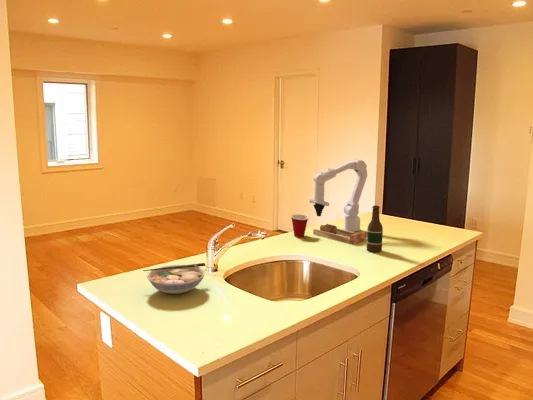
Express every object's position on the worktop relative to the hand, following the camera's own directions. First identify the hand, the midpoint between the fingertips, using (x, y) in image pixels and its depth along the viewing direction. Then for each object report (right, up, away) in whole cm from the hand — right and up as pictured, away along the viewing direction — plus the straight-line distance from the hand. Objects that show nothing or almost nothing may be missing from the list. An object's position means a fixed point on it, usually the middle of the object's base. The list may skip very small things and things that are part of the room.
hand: (318, 216), depth 278 cm
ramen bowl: (-68, -27, -96) cm, 120 cm away
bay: (+10, -12, -10) cm, 19 cm away
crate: (+5, -11, -4) cm, 13 cm away
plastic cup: (-12, -12, -8) cm, 19 cm away
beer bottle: (+25, -17, -38) cm, 49 cm away
